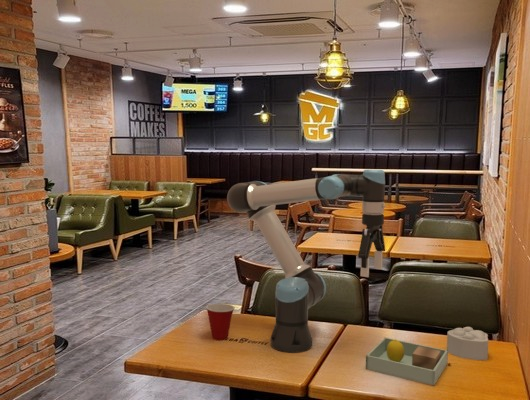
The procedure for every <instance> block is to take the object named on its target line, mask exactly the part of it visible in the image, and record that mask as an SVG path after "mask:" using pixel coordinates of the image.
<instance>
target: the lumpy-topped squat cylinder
mask: <svg viewBox="0 0 530 400" xmlns="http://www.w3.org/2000/svg"><path fill="white" fill-rule="evenodd" d="M446 337H447V338H446V350H448V354H451V355H453V356H455V357H458V358H462V359H466V360H473V361H474V360H475V361H486V360H488V357H489V356H488V355H489V338H488V337H489V335H488V333H486V332H484V331H482V330H479V329H473V327H471V326H465V327H464V326H463V328H462V327H455V328H454V329H451V330H448V331H447V335H446Z"/></svg>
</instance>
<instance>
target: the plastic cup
mask: <svg viewBox="0 0 530 400" xmlns="http://www.w3.org/2000/svg"><path fill="white" fill-rule="evenodd" d="M205 309H206V311H207V315H208V320H209V322H208V323H209V327H210V332H211V337H212V338H213V340H215V341H216V340H217V341H223V340H226V339H228V337H229V332H230V328H231V322H232V316H233V313H234V310H235V306H234V305H231V304H227V303H212V304H207V305H206V307H205Z"/></svg>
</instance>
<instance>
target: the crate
mask: <svg viewBox="0 0 530 400" xmlns="http://www.w3.org/2000/svg"><path fill="white" fill-rule="evenodd" d="M393 340H397V341H399V342H400V343H401V344H402V345H403V348H404V357H403V359H402V360H401V361H399V362H395V361H391V360H390V359H389V358H388V356H387V346H388V344H389V343H390V342H391V341H393ZM418 346H420V347H424V348H429V349H434V350H439V351H441V356H440V360H439V362H438V363H437V365H436V366H435V368H434V369H433V370H430V369H426V368H421V367H417V366H413V365H412V354H413V352H414V351H415V350H416V349H417V347H418ZM448 357H449V352H448V350H447V349H441V348H438V347H432V346H428V345H423V344H419V343H418V344H417V343H413V342H410V341H409V342H408V341H405V340H404V341H403V340H399V339H394V338H389V337H383V338H382V339H381V340H380V341H379V342H378V343H377V344H376V345H375V346H374V347H373V348H372V349H371V350H370V351H369V352H368V353H367V354H366V355H365V370H369V371H372V372H377V373H380V374H385V375H389V376H392V377H397V378H401V379H405V380H409V381H413V382H417V383H421V384H425V385H429V386H435V385H436V383H437V381H438V380H439V378H440V376H441V375H442V373H443V372H444V371H445V369H446V367H447V365H448V361H449V360H448Z"/></svg>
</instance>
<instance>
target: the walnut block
mask: <svg viewBox="0 0 530 400" xmlns="http://www.w3.org/2000/svg"><path fill="white" fill-rule="evenodd" d="M440 356H441V351H439V350H434V349H429V348H424V347H420V346H418V347H417V349H416V350H415V351H414V352H413V354H412V365H413V366H417V367H421V368H426V369H430V370H433V369H434V368H435V366H436V365H437V363H438V362H439V360H440Z"/></svg>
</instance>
